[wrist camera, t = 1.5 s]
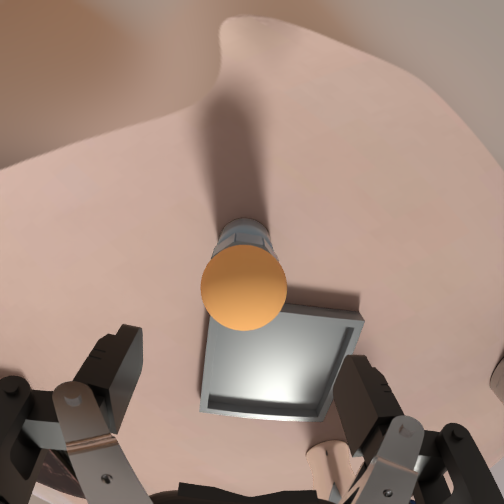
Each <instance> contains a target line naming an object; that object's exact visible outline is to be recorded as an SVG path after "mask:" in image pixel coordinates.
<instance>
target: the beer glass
mask: <svg viewBox="0 0 504 504" xmlns="http://www.w3.org/2000/svg"><path fill="white" fill-rule="evenodd" d="M306 459H307V462H308V464H309V466H310V469H311V471H312V476H313V490H316V491H317V496H318V498H319V499H324V500H328V501H331V502H333V503H336V504H338V503H339V502H340V500H341V499H342V497H343V496H344V494H345V493H346V491H347V489H348V488H349V486H350V484H351V482H352V481H353V479H354V477H355V474H354V472H353V470H352V468H351V465H350V459H349V447H348V445H347V444H346V443H345V442H343V441H340V440H330V441H325V442H322V443H319V444H317V445H315V446H313V447H312V448H311V449H310V450H309V451H308V452H307V454H306Z"/></svg>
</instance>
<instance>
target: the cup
mask: <svg viewBox="0 0 504 504" xmlns="http://www.w3.org/2000/svg"><path fill="white" fill-rule="evenodd" d="M236 245H252V246H256V247H259V248H262V249H264V250H265V251H267V252H268V253H270V254H271V255H272V256H273V257H274V258H276V260H277V261H278V262H279V260H278V257H277V255H276V254H275V252H274V251H273V247H272V243H271V239H270V236H269V233H268V231H267V230H266V228H265V227H264V226H263V225H262V224H261V223H259V222H258V221H256V220H253V219H249V218H240V219H236V220H233V221H231V222H230V223H228V224H227V225H226V226H225V227H224V228H223V230H222V232H221V233H220V236H219V240H218V243H217V246H216V247H215V248H214V251H213V254H212V257H211V259H212V258H213V257H214V256H215V255H217V254H218V253H219V252H221V251H222V250H224V249H226V248H228V247H232V246H236Z"/></svg>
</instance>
